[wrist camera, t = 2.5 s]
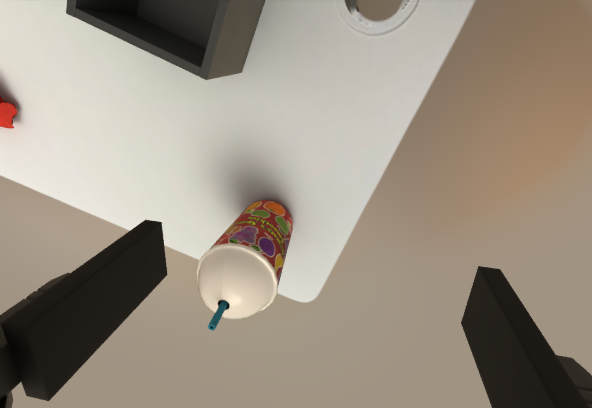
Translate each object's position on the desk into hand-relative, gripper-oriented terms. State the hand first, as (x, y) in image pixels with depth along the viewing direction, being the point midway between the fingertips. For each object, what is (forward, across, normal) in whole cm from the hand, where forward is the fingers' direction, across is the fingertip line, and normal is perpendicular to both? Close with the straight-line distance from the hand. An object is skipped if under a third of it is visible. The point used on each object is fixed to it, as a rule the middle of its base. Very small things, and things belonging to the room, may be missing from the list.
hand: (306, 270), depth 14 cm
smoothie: (+29, -9, -12) cm, 32 cm away
